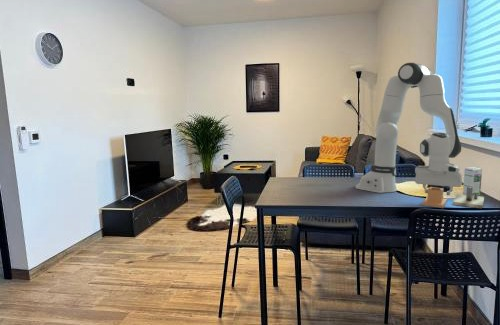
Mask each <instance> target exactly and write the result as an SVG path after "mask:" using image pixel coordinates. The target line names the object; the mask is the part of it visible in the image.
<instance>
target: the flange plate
mask: <svg viewBox="0 0 500 325" xmlns="http://www.w3.org/2000/svg"><path fill="white" fill-rule="evenodd" d="M427 189H428V193H427V195H426V198H425V199H424V200H423V201H422V202H421V205H422V206H426V207H432V208H441V209H444V207H445V206H446V203H448V198H444V188H441V187H433V186H430V187H429V188H427Z"/></svg>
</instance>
